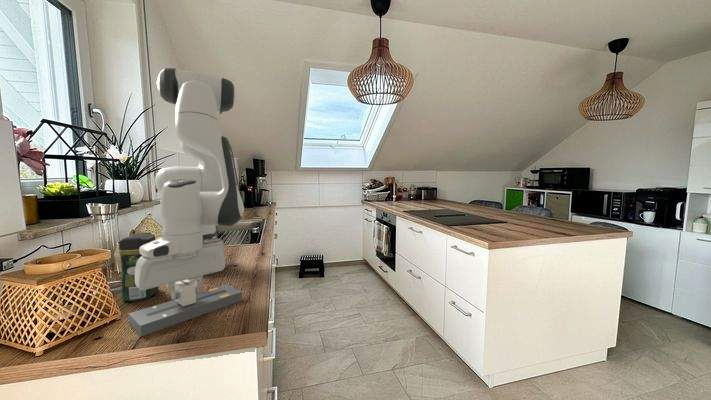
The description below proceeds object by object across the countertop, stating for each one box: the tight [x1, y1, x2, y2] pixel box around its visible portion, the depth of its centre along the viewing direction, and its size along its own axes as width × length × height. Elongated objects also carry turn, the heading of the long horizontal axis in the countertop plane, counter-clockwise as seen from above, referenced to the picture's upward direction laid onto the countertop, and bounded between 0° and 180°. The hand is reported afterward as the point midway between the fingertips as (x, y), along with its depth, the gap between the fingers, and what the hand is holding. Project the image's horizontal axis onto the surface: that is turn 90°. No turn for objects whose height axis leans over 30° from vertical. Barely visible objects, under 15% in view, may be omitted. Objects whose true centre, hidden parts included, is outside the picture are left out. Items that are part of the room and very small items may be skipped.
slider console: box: [128, 284, 243, 337], centre depth 75 cm, size 24×9×3 cm, turn 142°
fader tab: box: [175, 279, 196, 306], centre depth 73 cm, size 3×5×5 cm, turn 52°
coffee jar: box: [118, 232, 160, 302], centre depth 84 cm, size 10×8×19 cm
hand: (185, 295), depth 74 cm, fingers closed on fader tab, 3 cm apart
